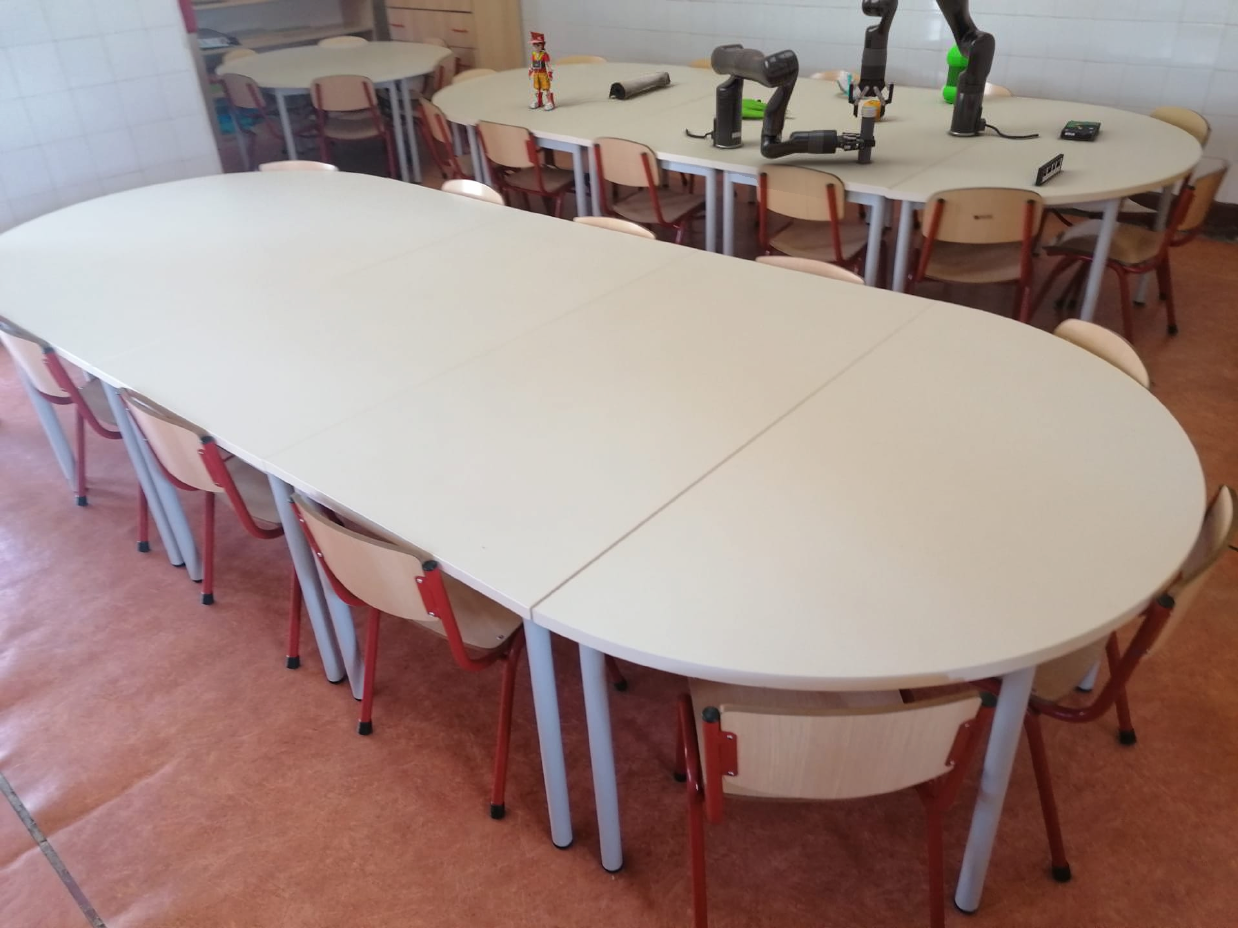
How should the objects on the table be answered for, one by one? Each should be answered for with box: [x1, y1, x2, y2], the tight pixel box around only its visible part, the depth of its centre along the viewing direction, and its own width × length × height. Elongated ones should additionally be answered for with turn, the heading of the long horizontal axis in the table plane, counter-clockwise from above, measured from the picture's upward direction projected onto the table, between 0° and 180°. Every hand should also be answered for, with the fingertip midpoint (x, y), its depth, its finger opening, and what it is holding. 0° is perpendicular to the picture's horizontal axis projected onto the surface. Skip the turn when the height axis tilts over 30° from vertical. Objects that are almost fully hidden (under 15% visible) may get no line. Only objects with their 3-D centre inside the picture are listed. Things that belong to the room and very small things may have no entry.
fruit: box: [862, 99, 884, 122], centre depth 337 cm, size 8×8×8 cm
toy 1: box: [527, 31, 556, 111], centre depth 374 cm, size 12×9×30 cm
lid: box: [860, 106, 877, 117], centre depth 289 cm, size 5×5×2 cm
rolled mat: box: [608, 71, 672, 101], centre depth 395 cm, size 30×9×10 cm
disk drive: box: [1059, 120, 1102, 141], centre depth 309 cm, size 10×3×15 cm
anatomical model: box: [836, 70, 866, 100], centre depth 369 cm, size 15×10×10 cm
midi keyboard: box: [1035, 153, 1065, 186], centre depth 273 cm, size 18×1×5 cm, turn 138°
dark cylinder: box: [856, 116, 876, 165], centre depth 293 cm, size 4×4×16 cm
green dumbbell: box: [942, 43, 968, 104], centre depth 348 cm, size 10×10×25 cm
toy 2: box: [742, 98, 793, 119], centre depth 353 cm, size 28×5×30 cm
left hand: (874, 141), depth 294 cm, fingers closed on dark cylinder, 4 cm apart
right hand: (868, 117), depth 290 cm, fingers open, 7 cm apart
